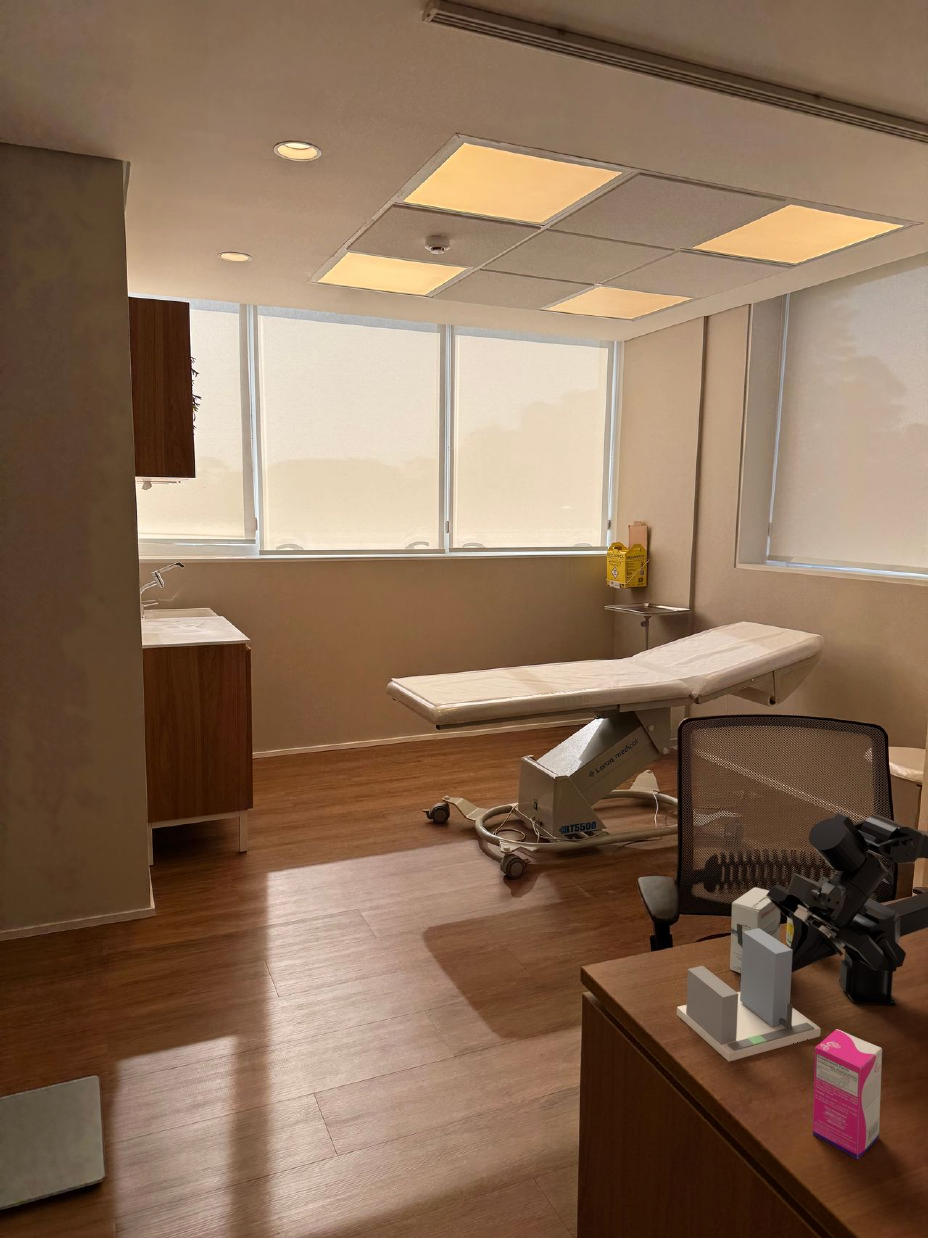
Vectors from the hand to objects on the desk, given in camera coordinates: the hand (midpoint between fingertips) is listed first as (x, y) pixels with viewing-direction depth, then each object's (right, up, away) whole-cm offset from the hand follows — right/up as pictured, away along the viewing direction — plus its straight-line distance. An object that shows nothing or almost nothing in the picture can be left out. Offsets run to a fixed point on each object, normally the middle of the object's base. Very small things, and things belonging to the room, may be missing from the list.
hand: (788, 970), depth 128 cm
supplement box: (-2, -10, -24) cm, 26 cm away
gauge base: (-7, -7, -2) cm, 10 cm away
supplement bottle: (+11, -5, +22) cm, 25 cm away
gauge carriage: (-4, -6, -2) cm, 7 cm away
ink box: (0, -6, +15) cm, 16 cm away
